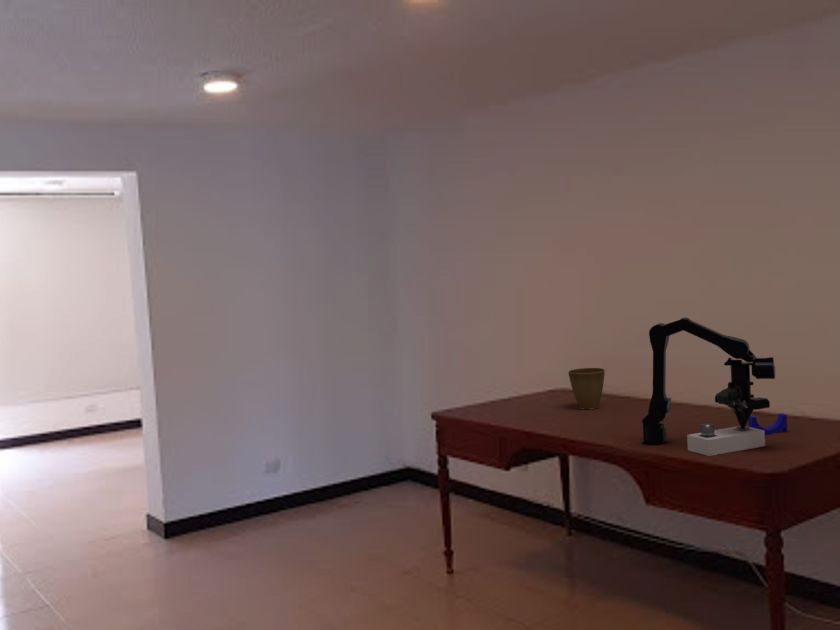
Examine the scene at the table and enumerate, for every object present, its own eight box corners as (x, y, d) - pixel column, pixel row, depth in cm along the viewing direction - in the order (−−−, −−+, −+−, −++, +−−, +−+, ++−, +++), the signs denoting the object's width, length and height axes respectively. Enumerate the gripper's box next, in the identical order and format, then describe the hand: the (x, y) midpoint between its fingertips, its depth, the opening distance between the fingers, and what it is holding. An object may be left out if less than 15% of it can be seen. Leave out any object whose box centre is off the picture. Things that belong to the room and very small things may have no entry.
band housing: (687, 450, 274) (687, 434, 273) (742, 440, 282) (741, 425, 281) (709, 456, 264) (708, 440, 264) (765, 446, 272) (764, 430, 272)
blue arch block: (754, 436, 288) (753, 418, 287) (748, 433, 292) (748, 416, 292) (789, 433, 288) (788, 415, 288) (783, 430, 293) (782, 413, 292)
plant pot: (576, 404, 368) (574, 367, 367) (610, 405, 361) (608, 367, 360) (565, 411, 355) (563, 373, 354) (601, 412, 348) (599, 372, 347)
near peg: (698, 439, 271) (698, 424, 271) (708, 437, 273) (708, 422, 272) (707, 441, 268) (706, 426, 267) (717, 439, 269) (716, 424, 269)
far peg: (734, 441, 277) (733, 427, 276) (744, 439, 278) (743, 425, 278) (743, 443, 273) (742, 429, 273) (753, 441, 274) (752, 427, 274)
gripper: (700, 378, 280) (702, 426, 281) (741, 385, 263) (743, 435, 264) (727, 375, 284) (729, 421, 285) (770, 380, 267) (772, 430, 268)
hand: (742, 427), depth 275 cm, fingers closed, pressing on far peg
